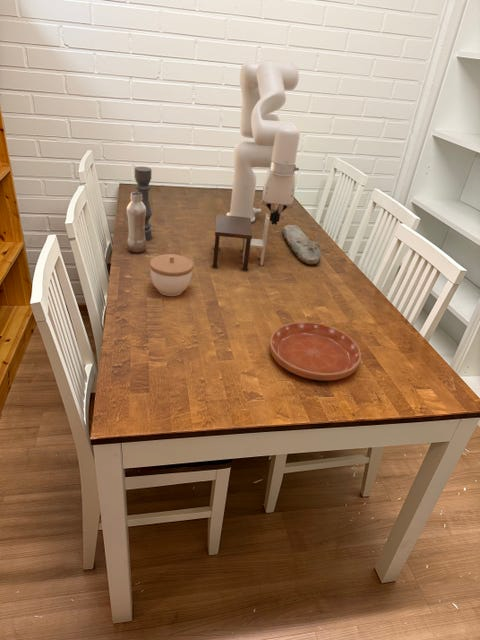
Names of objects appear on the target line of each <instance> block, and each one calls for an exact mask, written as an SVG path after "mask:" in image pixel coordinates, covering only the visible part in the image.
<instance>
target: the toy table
mask: <svg viewBox="0 0 480 640" xmlns="http://www.w3.org/2000/svg"><path fill="white" fill-rule="evenodd" d="M214 229H215V230H214V236H215V238H214V248H213V249H214V250H213V257H212V259H213V260H212V268H213V269H217V268H218V261H219V250H220V249H219V248H220V238H221V237H226V238H235V239H243V241H242V250H241V251H242V253H243V248H244V240H245V239H246V247H245V255H244V263H243V262H242V271H244V272H245V271H246V272H247V271H248V265H249V259H250V249H251V247H250V243H251V239H253V228H252V223H251V218H247V217H238V216H228V215H226V214H219V213H218V214H216V219H215V228H214Z"/></svg>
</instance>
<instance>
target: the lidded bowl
mask: <svg viewBox="0 0 480 640" xmlns="http://www.w3.org/2000/svg"><path fill="white" fill-rule="evenodd" d="M193 270H194V262H193V261H192V259H190V258H188V257H186V256H184V255H180V254H175V253H166V254H164V253H163V254H159V255H156V256H153V257H152V258H151V259H150V260H149V273H150V274H149V275H150V281H151V283H152V285H153V286H154V288H155V289H156V290H157V291H158V292H159V293H160V294H161V295H163V296H166V297H176V296H179V295H181V294H183V292H184V291H185V290H187V289H188V288H189V286H190V284H191V281H192V279H193V278H192V277H193Z"/></svg>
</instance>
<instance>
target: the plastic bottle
mask: <svg viewBox="0 0 480 640" xmlns="http://www.w3.org/2000/svg"><path fill="white" fill-rule="evenodd" d="M130 200H131V201H130V202H129V203H128V205H127V206H126V217H127V223H128V235H127V241H126V245H127V249H128V250H129V252H132V253H142V252H144V251H145V250H146V249H147V241H146V238H145V217H146V207H145V205H144V204H143V202H142V200H143V198H142V193H139V192H137V191H134V192H131V193H130Z"/></svg>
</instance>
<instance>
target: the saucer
mask: <svg viewBox="0 0 480 640" xmlns="http://www.w3.org/2000/svg"><path fill="white" fill-rule="evenodd" d="M269 351H270V354H271V357H272V358H273V359H274V361H275V362H276V363H277V364H278V365H279V366H281V367H282V368H283V369H285V370H286V371H288V372H290V373H292V374H294V375H296V376H298V377H302V378H306V379H309V380H314V381H315V380H316V381H337V380H340V379H341V380H342V379H345V378H347V377H349V376H351V375H353V374H354V373H355V372H356V370H357V369H358V368H359V366H360V364H361V363H360V362H361V359H362V352H361V349H360V347H359V345H358V343H357V342H356V341H355V340H354V339H353V338H352V337H350V336H349V335H348V334H346V333H345V332H343V331H341V330H339V329H337V328H335V327H333V326H330V325H327V324H324V323H319V322H311V321H296V322H289V323H285V324H284V325H281V326H279V327H278V328H276V329H275V330H274V331H273V332H272V334H271V335H270V339H269Z"/></svg>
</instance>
